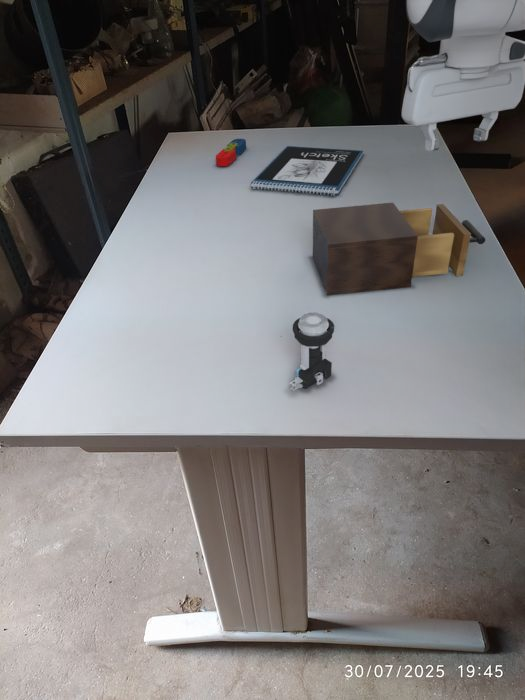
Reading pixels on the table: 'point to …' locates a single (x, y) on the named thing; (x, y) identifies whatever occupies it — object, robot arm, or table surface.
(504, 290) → the table surface
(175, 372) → the table surface
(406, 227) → the wooden drawer box
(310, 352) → the push button
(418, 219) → the wooden pull-out drawer
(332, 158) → the sketchbook
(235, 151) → the multicolored plastic bar
